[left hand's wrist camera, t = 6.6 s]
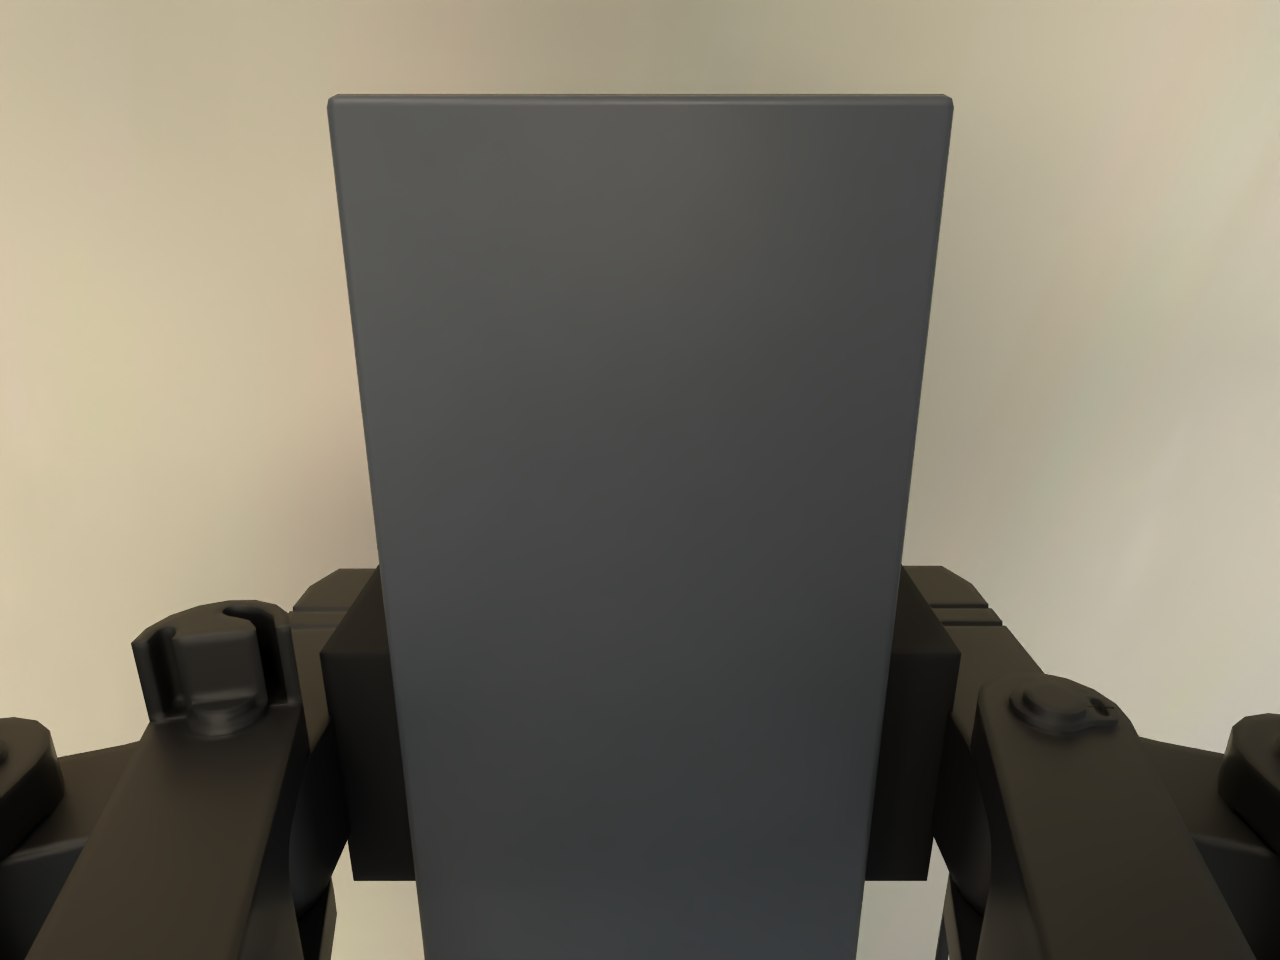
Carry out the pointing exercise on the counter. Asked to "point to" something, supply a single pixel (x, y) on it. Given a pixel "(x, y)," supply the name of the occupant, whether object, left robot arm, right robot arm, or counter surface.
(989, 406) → the counter surface
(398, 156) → the bar
